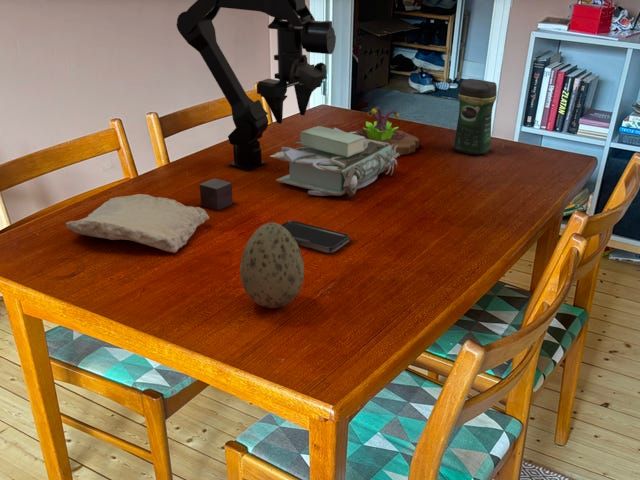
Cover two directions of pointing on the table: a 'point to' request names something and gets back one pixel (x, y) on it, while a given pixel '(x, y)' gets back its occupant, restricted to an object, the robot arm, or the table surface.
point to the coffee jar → (475, 116)
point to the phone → (316, 237)
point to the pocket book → (332, 141)
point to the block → (216, 194)
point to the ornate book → (336, 167)
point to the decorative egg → (272, 266)
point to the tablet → (142, 221)
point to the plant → (388, 133)
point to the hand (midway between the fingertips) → (291, 119)
